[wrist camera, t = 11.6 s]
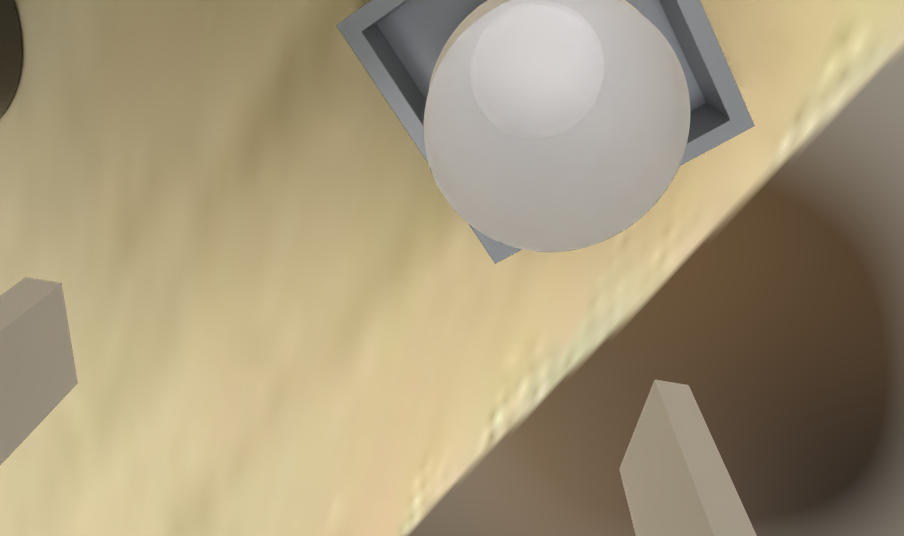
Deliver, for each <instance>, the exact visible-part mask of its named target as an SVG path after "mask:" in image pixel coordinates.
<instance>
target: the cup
mask: <svg viewBox="0 0 904 536" xmlns="http://www.w3.org/2000/svg"><path fill="white" fill-rule="evenodd" d="M689 129H690V99H689V91H688V86H687V82H686V78H685V75H684V72H683V69H682V67H681V64H680V62H679V60H678V58H677V56H676V54H675V52H674V50H673V49H672V47H671V45H670V44H669V42H668V41H667V39H666V38H665V37H664V36H663V34H662V33H661V32H660V31H659V30H658V29H657V28H656V27H655V26H654V25H653V24H652V23H651V22H650V21H649V20H648V19H647V18H645V17H644V16H643V15H642V14H641V13H640V12H639V11H638V10H637V9H636V8H635V7H633V6H632V5H631V4H630V3H628V2H627V1H626V0H487V1H486V2H484V3H483V4H481V5H480V6H479V7H477V8H476V9H475V10H474V11H473V12H472V13H470V14H469V15H468V16H467V17H466V18H465V19H464V20H463V21H462V22H461V23H460V25H459V26H458V27H457V28H456V29H455V31H454V32H453V33H452V35H451V36H450V38H449V39H448V41H447V42H446V44H445V45H444V47H443V49H442V51H441V53H440V55H439V57H438V59H437V62H436V65H435V67H434V70H433V73H432V77H431V81H430V86H429V91H428V96H427V100H426V106H425V112H424V143H425V150H426V155H427V159H428V163H429V166H430V169H431V172H432V175H433V177H434V179H435V182H436V184H437V186H438V187H439V189H440V191H441V193H442V194H443V196H444V197H445V199H446V200H447V202H448V203H449V204H450V206H451V207H452V208H453V209H454V210H455V211H456V213H457V214H458V215H459V216H460V217H462V218H463V219H464V220H465V221H466V222H467V223H468V224H470V225H471V226H472V227H473V228H475V229H476V230H478V231H479V232H481V233H482V234H484V235H486V236H488V237H490V238H491V239H493V240H496V241H498V242H500V243H503V244H505V245H509V246H512V247H515V248H519V249H524V250H529V251H538V252H561V251H569V250H576V249H580V248H584V247H588V246H591V245H594V244H597V243H600V242H602V241H604V240H607V239H609V238H611V237H613V236H615V235H617V234H619V233H620V232H622V231H624V230H625V229H627V228H628V227H630V226H631V225H633V224H634V223H635V222H636V221H638V220H639V219H640V218H641V217H642V216H644V215H645V214H646V213H647V212H648V211H649V210H650V209H651V208H652V207H653V206H654V205H655V203H656V202H657V201H658V200H659V199H660V197H661V196H662V195H663V193H664V192H665V191H666V189H667V188H668V186H669V185H670V183H671V181H672V180H673V178H674V176H675V174H676V172H677V170H678V168H679V166H680V163H681V160H682V158H683V155H684V152H685V148H686V145H687V140H688V135H689Z"/></svg>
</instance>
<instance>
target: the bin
mask: <svg viewBox="0 0 904 536" xmlns="http://www.w3.org/2000/svg"><path fill="white" fill-rule="evenodd" d="M486 1H487V0H371V1H369V2H368V3H367V4H365V5H364V6H362V7H361V8H360V9H358V10H357V11H356V12H354V13H353V14H351V15H350V16H349V17H347V18H346V19H345V20H343V21H342V22H341V23H339V24H338V25H336V26H337V28H338V29H339V31H340V32H341V34H342V35H343V37H344V38H345V39H346V41H347V42H348V44H349V45H350V47H351V48H352V50H353V51H354V53H355V54H356V56H357V57H358V59H359V60H360V62H361V63H362V65H363V66H364V68H365V69H366V71H367V72H368V74H369V75H370V77H371V78H372V80H373V81H374V83H375V84H376V86H377V87H378V89H379V90H380V92H381V93H382V95H383V96H384V98H385V99H386V101H387V102H388V104H389V105H390V107H391V108H392V110H393V111H394V113H395V114H396V116H397V117H398V119H399V120H400V122H401V123H402V125H403V126H404V128H405V129H406V131H407V132H408V134H409V135H410V137H411V138H412V140H413V141H414V143H415V144H416V146H417V147H418V149H419V150H420V152H421V153H422V155H423V156H424V158H425V159H426V161H427V162H428V159H427V155H426V150H425V143H424V112H425V106H426V100H427V96H428V91H429V86H430V81H431V77H432V73H433V70H434V67H435V65H436V62H437V59H438V57H439V55H440V53H441V51H442V49H443V47H444V45H445V44H446V42H447V41H448V39H449V38H450V36H451V35H452V33H453V32H454V31H455V29H456V28H457V27H458V26H459V25H460V23H461V22H462V21H463V20H464V19H465V18H466V17H467V16H468V15H469V14H470V13H472V12H473V11H474V10H475V9H476V8H477V7H479V6H480V5H481V4H483V3H484V2H486ZM626 1H627V2H628V3H630V4H631V5H632V6H633V7H635V8H636V9H637V10H638V11H639V12H640V13H641V14H642V15H643V16H644V17H645V18H647V19H648V20H649V21H650V22H651V23H652V24H653V25H654V26H655V27H656V28H657V29H658V30H659V31H660V32H661V33H662V34H663V36H664V37H665V38H666V39H667V41H668V42H669V44H670V45H671V47H672V49H673V50H674V52H675V54H676V56H677V58H678V60H679V62H680V64H681V67H682V69H683V72H684V75H685V78H686V82H687V86H688V91H689V99H690V129H689V135H688V140H687V145H686V148H685V152H684V155H683V158H682V160H681V163H680V165H682V164H684V163H686V162H688V161H690V160H691V159H693V158H695V157H697V156H699V155H701V154H703V153H705V152H706V151H708V150H710V149H712V148H714V147H716V146H718V145H720V144H722V143H723V142H725V141H727V140H729V139H731V138H733V137H735V136H737V135H738V134H740V133H742V132H744V131H746V130H748V129H750V128H752V127H754V126H755V125H754V123H753V121H752V119H751V116H750V114H749V112H748V109H747V107H746V105H745V103H744V100H743V98H742V96H741V93H740V91H739V89H738V87H737V84H736V82H735V80H734V77H733V75H732V73H731V70H730V68H729V66H728V64H727V61H726V59H725V57H724V54H723V52H722V50H721V48H720V45H719V43H718V41H717V38H716V36H715V34H714V31H713V29H712V27H711V25H710V22H709V20H708V18H707V15H706V13H705V11H704V9H703V6H702V4H701V2H700V0H626ZM428 164H429V163H428ZM469 225H470V224H469ZM470 227H471V228H472V230H473V231H474V233H475V234H476V236H477V237H478V239H479V240H480V242H481V243H482V245H483V246H484V248H485V249H486V251H487V252H488V254H489V255H490V257H491V258H492V260H493V261H494V263H495V264H496V263H497V262H499V261H501V260H503V259H505V258H507V257H509V256H511V255H513V254H514V253H516V252H518V251H520V250H522V249H519V248H515V247H512V246H509V245H505V244H503V243H500V242H498V241H496V240H493V239H491V238H490V237H488V236H486V235H484V234H482V233H481V232H479V231H478V230H476V229H475V228H473V227H472V226H471V225H470Z"/></svg>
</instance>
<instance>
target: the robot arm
mask: <svg viewBox="0 0 904 536" xmlns="http://www.w3.org/2000/svg"><path fill="white" fill-rule="evenodd" d="M21 58H22V48H21V35H20V28H19V22H18V17H17V13H16V9H15V6H14V3H13V0H0V117H1V116H2V115H3V114H4V112H5V111H6V109H7V108H8V106H9V104H10V102H11V100H12V98H13V96H14V94H15V91H16V88H17V85H18V81H19V76H20V70H21ZM77 383H78V382H77V376H76V369H75V363H74V357H73V351H72V345H71V338H70V332H69V326H68V320H67V314H66V307H65V301H64V295H63V289H62V283H57V282H51V281H45V280H39V279H33V278H27V277H26V278H25V279H23V280H22V281H20V282H19V283H18V284H16V285H15V286H13V287H12V288H11V289H9V290H8V291H6V292H5V293H4V294H2V295H1V296H0V465H1V464H2V463H3V462H4V461H5V460H6V459H7V458H8V457H9V456H10V455H11V453H12V452H13V451H14V450H15V449H16V448H17V447H18V446H19V445H20V444H21V443H22V442H23V441H24V440H25V439H26V438H27V436H28V435H29V434H30V433H31V432H32V431H33V430H34V429H35V428H36V427H37V426H38V425H39V424H40V423H41V422H42V421H43V419H44V418H45V417H46V416H47V415H48V414H49V413H50V412H51V411H52V410H53V409H54V408H55V407H56V406H57V405H58V403H59V402H60V401H61V400H62V399H63V398H64V397H65V396H66V395H67V394H68V393H69V392H70V391H71V390H72V389H73V388H74V386H75V385H76V384H77ZM620 473H621V477H622V481H623V485H624V489H625V493H626V497H627V501H628V505H629V509H630V513H631V517H632V522H633V526H634V529H635V534H636V536H756V534H755V531H754V529H753V527H752V525H751V522H750V520H749V518H748V516H747V514H746V511H745V509H744V507H743V505H742V502H741V500H740V498H739V496H738V494H737V491H736V489H735V487H734V485H733V483H732V480H731V478H730V476H729V474H728V472H727V469H726V467H725V465H724V463H723V461H722V458H721V456H720V454H719V452H718V449H717V447H716V445H715V443H714V441H713V438H712V436H711V434H710V432H709V430H708V427H707V425H706V423H705V421H704V419H703V416H702V414H701V412H700V410H699V407H698V405H697V403H696V401H695V399H694V397H693V394H692V392H691V390H690V388H689V386H688V385H684V384H678V383H672V382H666V381H659V380H654V383H653V385H652V388H651V391H650V393H649V395H648V398H647V401H646V403H645V406H644V408H643V411H642V413H641V416H640V418H639V421H638V423H637V426H636V428H635V431H634V433H633V436H632V439H631V441H630V444H629V446H628V449H627V451H626V454H625V456H624V459H623V462H622V464H621V467H620Z"/></svg>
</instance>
